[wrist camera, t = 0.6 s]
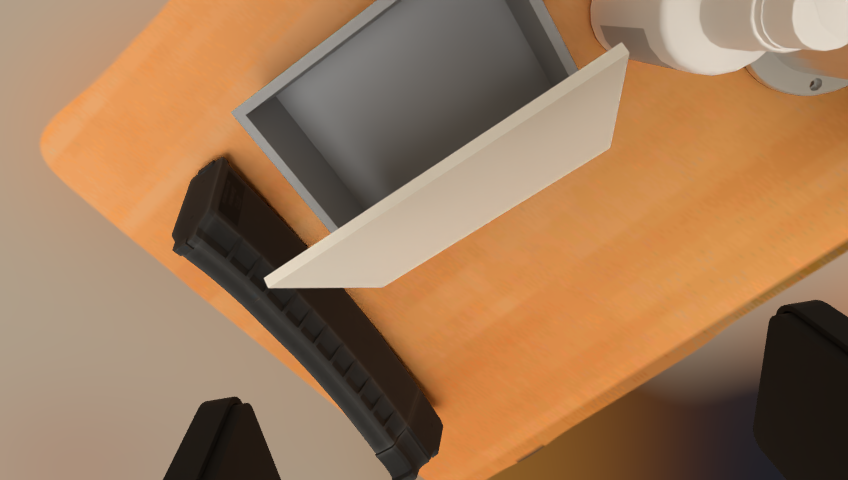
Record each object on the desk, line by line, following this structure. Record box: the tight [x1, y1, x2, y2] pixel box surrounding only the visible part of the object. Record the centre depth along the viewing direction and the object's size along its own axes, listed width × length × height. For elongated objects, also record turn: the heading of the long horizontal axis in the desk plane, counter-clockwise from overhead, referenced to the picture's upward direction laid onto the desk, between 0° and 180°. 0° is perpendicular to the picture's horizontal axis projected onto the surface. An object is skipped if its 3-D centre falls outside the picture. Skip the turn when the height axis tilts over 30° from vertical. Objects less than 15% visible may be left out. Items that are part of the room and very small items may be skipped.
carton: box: [231, 0, 579, 233], centre depth 33 cm, size 18×14×8 cm
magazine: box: [172, 157, 443, 480], centre depth 39 cm, size 17×3×30 cm
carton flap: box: [264, 42, 629, 288], centre depth 26 cm, size 17×13×1 cm
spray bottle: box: [590, 0, 848, 76], centre depth 27 cm, size 7×7×18 cm
